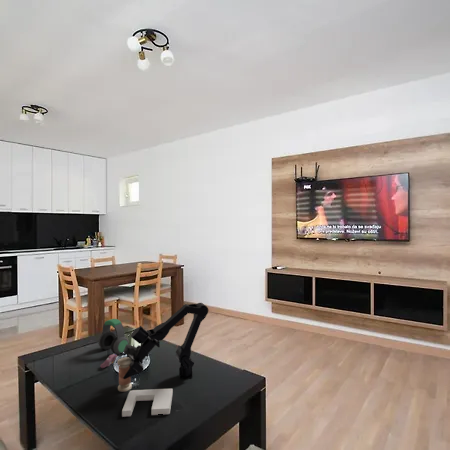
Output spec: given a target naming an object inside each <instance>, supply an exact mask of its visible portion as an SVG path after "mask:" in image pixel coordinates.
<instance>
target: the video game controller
mask: <svg viewBox="0 0 450 450" xmlns="http://www.w3.org/2000/svg"><path fill="white" fill-rule="evenodd" d="M117 357H118V354H115V353H113V354H109V356H108V357H107V358H106V359H105V360H104V361H103V362H102V363H101V364H100V366H99V367H100V368H101V369H105V368H106V367H110V365H112V364H113V363H114V362H115V360H117Z"/></svg>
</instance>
